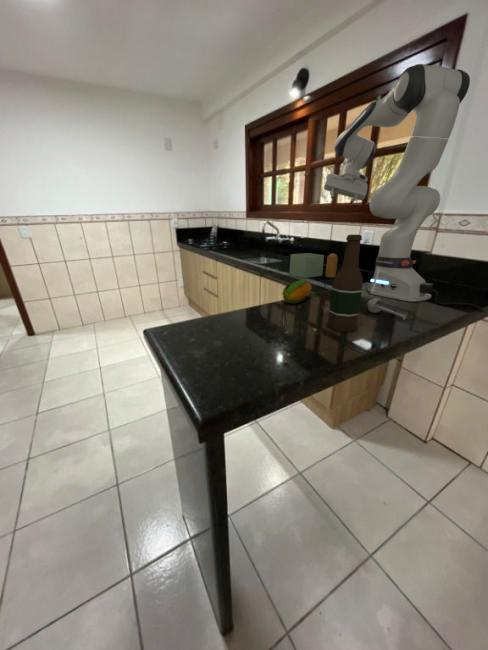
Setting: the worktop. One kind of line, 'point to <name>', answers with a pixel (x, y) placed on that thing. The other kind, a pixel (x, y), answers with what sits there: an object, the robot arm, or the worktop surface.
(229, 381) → the worktop surface
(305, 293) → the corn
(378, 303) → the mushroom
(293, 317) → the worktop surface
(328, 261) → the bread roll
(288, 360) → the worktop surface
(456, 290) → the worktop surface
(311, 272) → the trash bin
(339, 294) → the beer bottle
